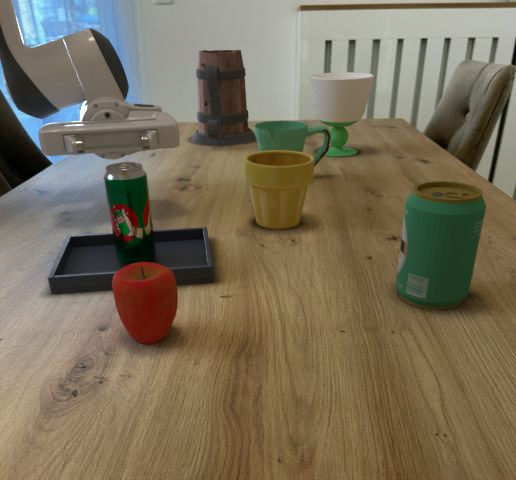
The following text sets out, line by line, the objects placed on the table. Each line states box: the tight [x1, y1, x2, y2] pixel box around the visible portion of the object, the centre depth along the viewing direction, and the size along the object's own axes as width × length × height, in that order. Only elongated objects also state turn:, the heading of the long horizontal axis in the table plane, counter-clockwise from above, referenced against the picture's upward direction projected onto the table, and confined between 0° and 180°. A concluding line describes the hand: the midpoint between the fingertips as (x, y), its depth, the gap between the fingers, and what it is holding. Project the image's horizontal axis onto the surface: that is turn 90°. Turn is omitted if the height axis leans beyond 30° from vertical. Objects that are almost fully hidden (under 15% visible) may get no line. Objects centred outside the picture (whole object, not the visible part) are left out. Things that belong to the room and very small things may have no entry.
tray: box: [47, 226, 215, 295], centre depth 71 cm, size 19×14×2 cm
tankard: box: [190, 49, 257, 147], centre depth 133 cm, size 24×17×20 cm
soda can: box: [103, 161, 156, 266], centre depth 68 cm, size 5×5×12 cm
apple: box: [112, 262, 179, 345], centre depth 54 cm, size 6×6×8 cm
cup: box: [309, 71, 375, 158], centre depth 121 cm, size 14×14×16 cm
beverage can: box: [395, 180, 487, 310], centre depth 60 cm, size 8×8×12 cm
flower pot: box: [243, 150, 315, 230], centre depth 83 cm, size 10×10×10 cm
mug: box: [253, 120, 331, 168], centre depth 104 cm, size 15×10×10 cm
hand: (113, 146), depth 77 cm, fingers open, 8 cm apart
